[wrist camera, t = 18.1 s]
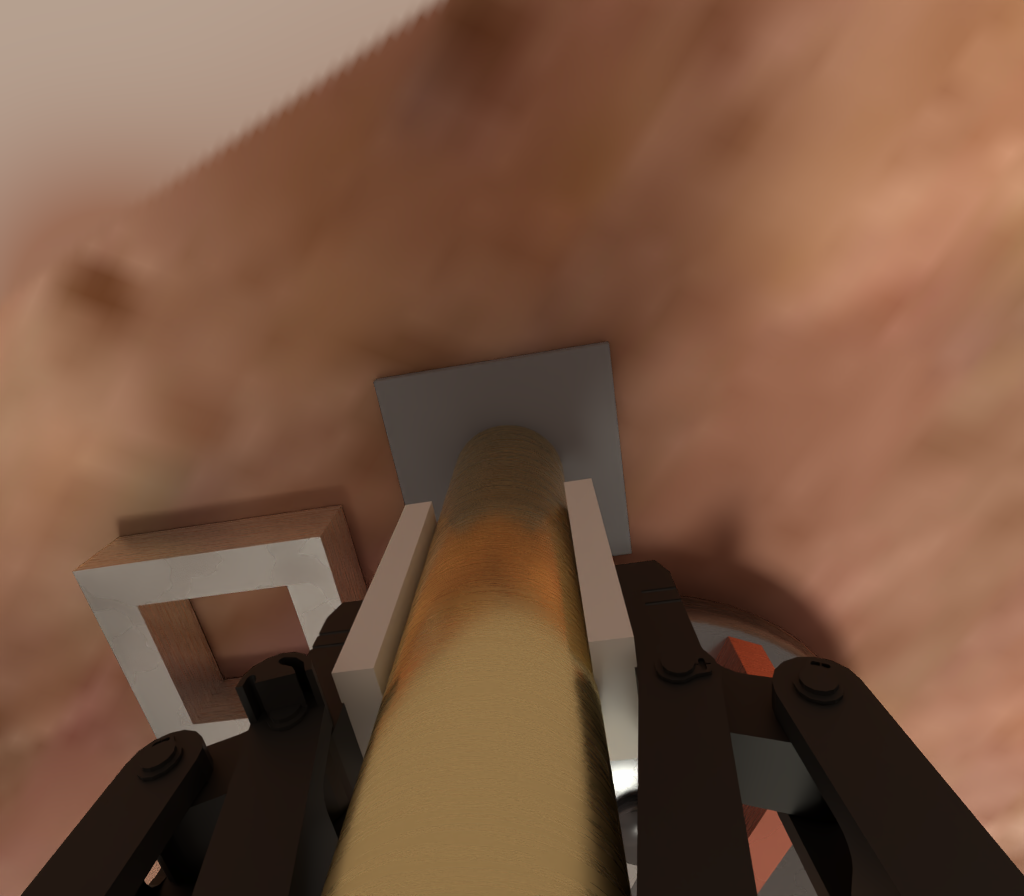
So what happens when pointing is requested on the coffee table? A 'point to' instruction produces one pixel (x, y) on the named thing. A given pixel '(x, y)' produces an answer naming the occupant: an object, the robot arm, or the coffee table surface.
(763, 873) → the compass
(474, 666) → the yellow tall cylinder
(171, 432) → the coffee table surface
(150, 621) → the grey square frame
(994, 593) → the coffee table surface
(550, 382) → the rest pad
